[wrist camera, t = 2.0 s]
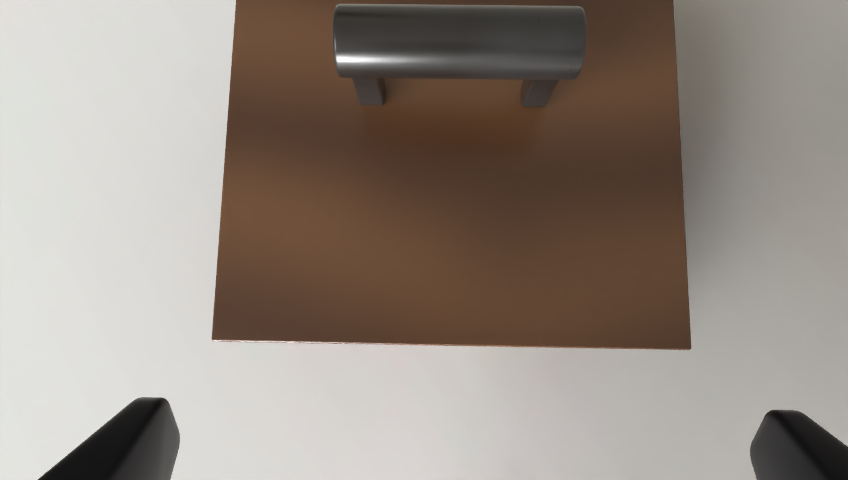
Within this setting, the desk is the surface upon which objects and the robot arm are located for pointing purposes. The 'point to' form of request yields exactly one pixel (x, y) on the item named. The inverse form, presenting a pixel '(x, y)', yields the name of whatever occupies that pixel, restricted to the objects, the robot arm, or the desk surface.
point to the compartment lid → (453, 175)
